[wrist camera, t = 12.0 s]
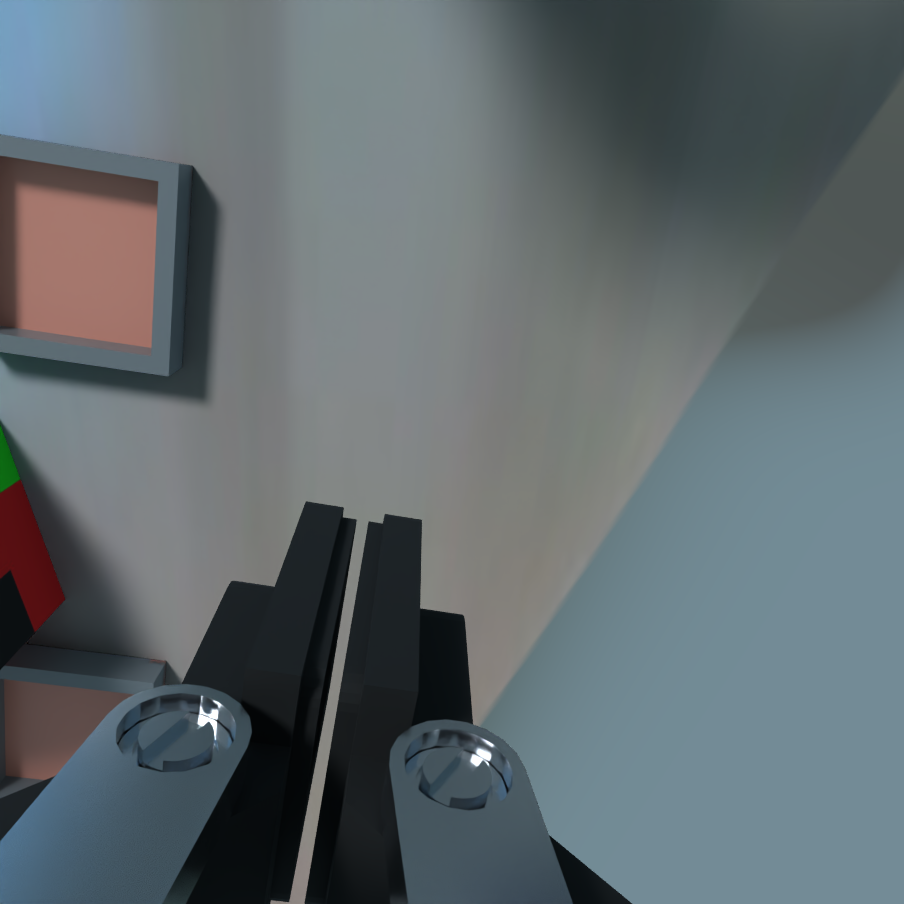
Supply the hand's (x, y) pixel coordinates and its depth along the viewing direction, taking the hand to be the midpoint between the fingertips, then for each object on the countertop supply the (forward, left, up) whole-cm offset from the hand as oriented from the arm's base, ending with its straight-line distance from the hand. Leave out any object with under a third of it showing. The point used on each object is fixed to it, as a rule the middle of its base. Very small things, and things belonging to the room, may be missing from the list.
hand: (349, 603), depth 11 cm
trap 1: (+24, -15, -27) cm, 39 cm away
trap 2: (-1, -15, -27) cm, 30 cm away
